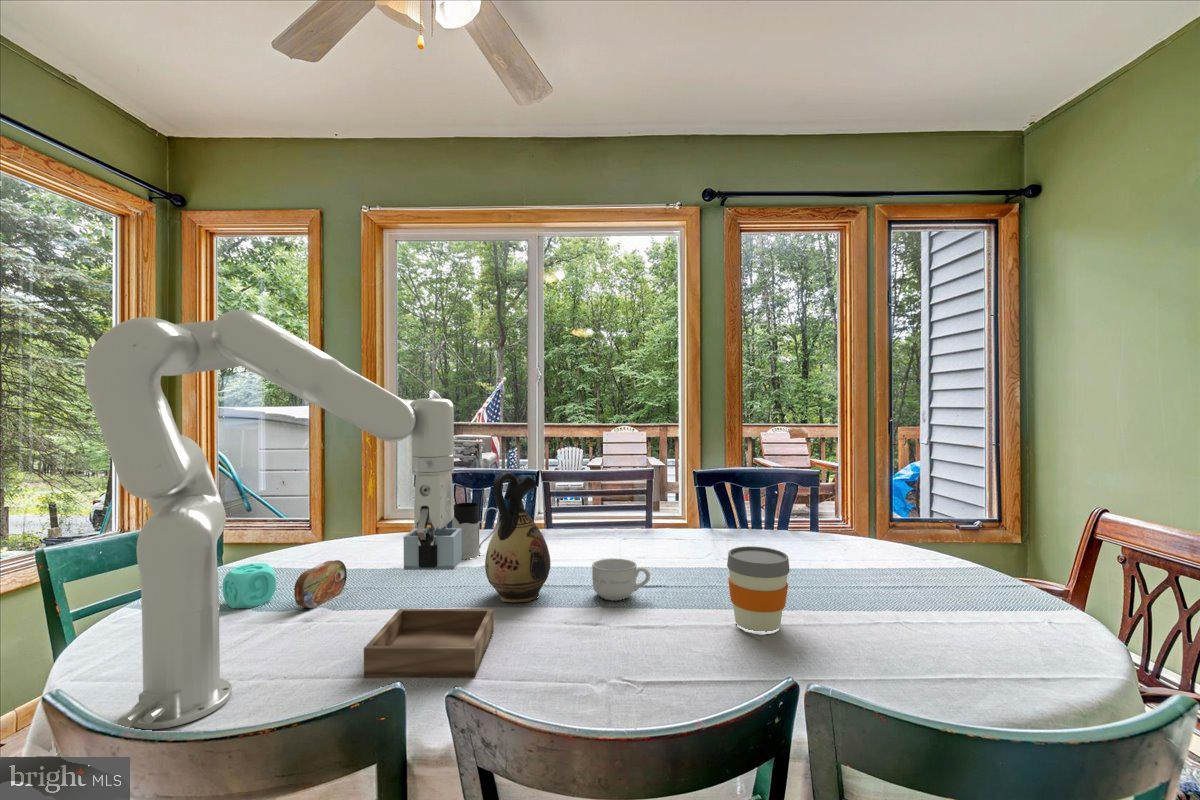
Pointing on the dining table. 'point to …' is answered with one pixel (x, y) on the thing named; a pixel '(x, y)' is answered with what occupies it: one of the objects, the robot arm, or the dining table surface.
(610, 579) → the teacup
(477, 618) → the tray
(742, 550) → the reusable coffee cup
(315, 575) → the tin
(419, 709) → the dining table surface
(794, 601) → the dining table surface
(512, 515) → the ceramic jug
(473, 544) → the glass holder
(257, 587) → the decorative dice
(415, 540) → the small crate
